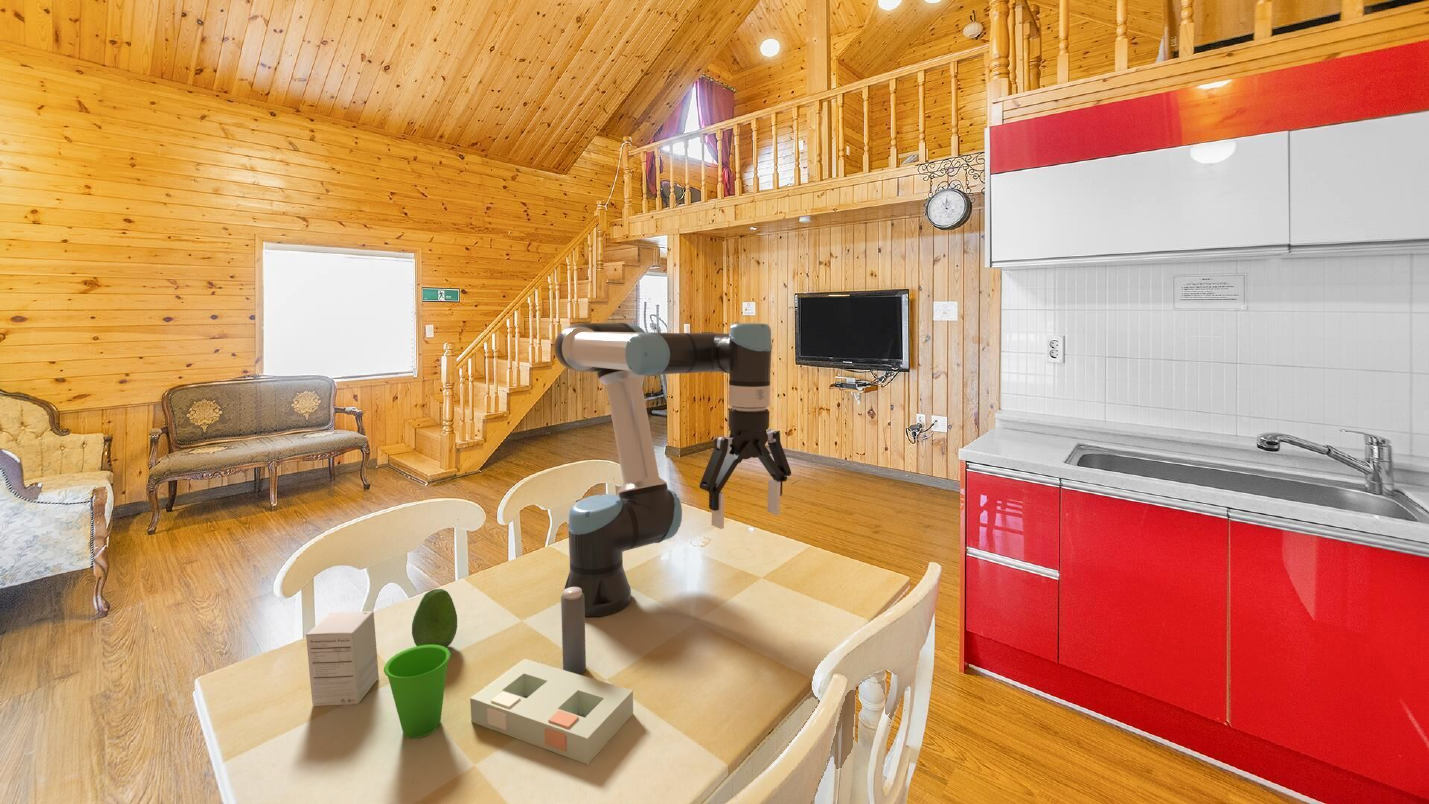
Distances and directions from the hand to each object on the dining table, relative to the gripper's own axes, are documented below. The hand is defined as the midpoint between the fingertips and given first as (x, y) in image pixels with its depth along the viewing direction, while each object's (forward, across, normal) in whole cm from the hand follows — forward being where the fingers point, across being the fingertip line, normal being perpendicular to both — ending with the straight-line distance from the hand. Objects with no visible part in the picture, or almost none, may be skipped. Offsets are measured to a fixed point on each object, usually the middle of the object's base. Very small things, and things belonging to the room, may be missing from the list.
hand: (746, 519), depth 109 cm
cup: (+26, -55, +11) cm, 62 cm away
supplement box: (+26, -63, +28) cm, 74 cm away
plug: (+26, -30, +12) cm, 41 cm away
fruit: (+26, -48, +34) cm, 65 cm away
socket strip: (+26, -38, +2) cm, 46 cm away
